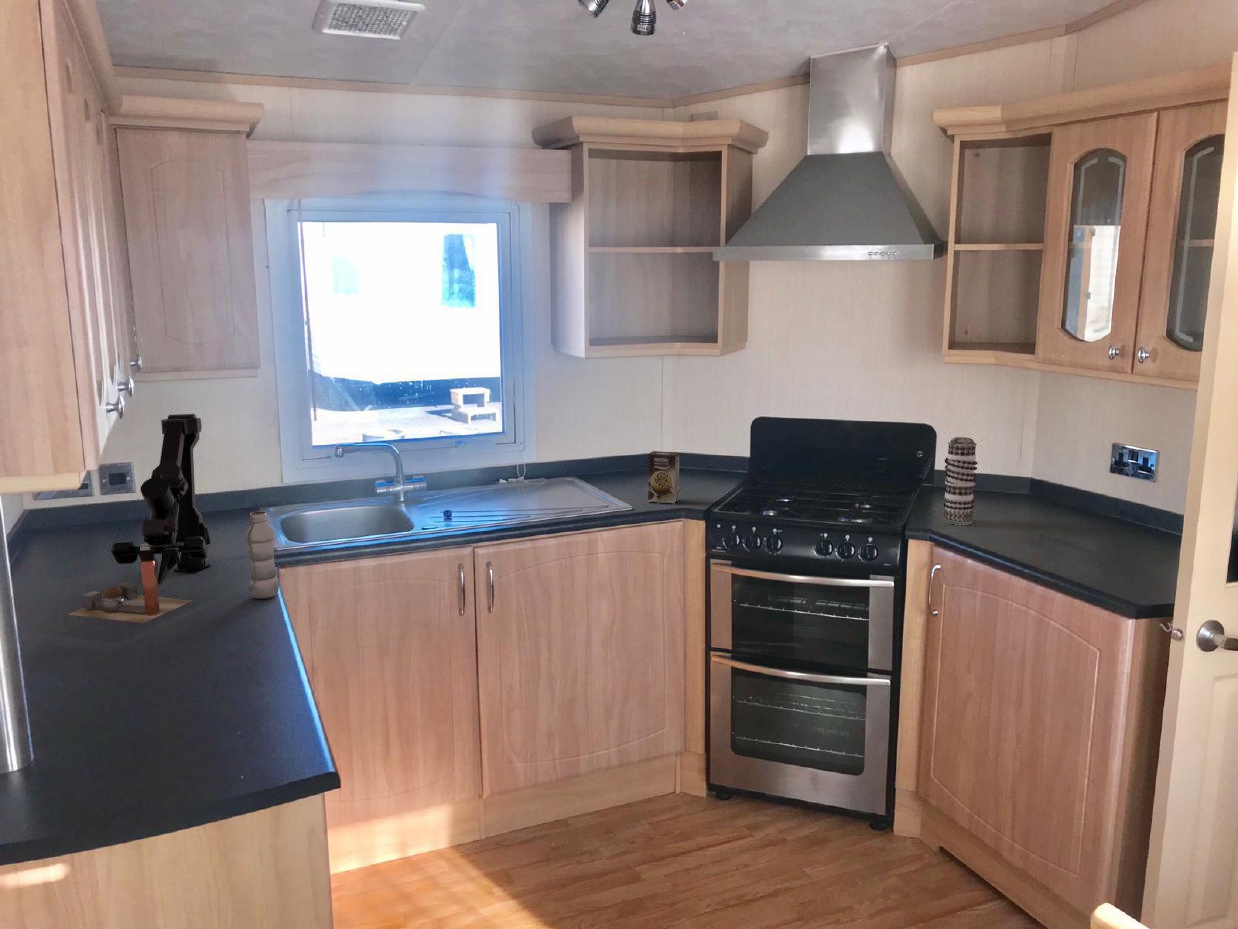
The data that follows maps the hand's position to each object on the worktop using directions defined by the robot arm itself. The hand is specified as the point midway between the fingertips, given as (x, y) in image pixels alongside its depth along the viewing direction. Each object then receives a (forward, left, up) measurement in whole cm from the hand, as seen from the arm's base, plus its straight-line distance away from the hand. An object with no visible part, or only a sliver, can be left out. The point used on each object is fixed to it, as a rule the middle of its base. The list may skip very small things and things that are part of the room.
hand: (156, 584), depth 214 cm
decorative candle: (-131, +169, -8) cm, 214 cm away
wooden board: (0, -8, -7) cm, 11 cm away
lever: (+2, -8, -6) cm, 10 cm away
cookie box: (-134, +79, -8) cm, 156 cm away
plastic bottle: (-17, +14, -8) cm, 24 cm away
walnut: (-2, -14, -6) cm, 16 cm away
